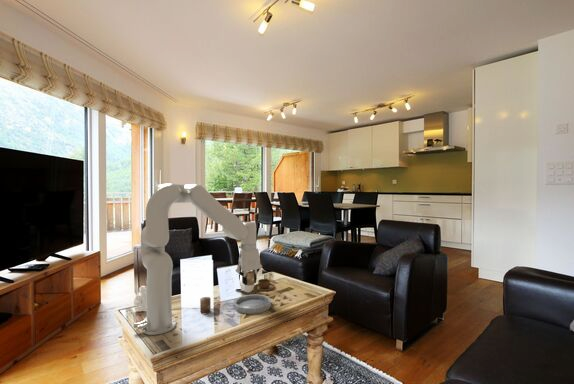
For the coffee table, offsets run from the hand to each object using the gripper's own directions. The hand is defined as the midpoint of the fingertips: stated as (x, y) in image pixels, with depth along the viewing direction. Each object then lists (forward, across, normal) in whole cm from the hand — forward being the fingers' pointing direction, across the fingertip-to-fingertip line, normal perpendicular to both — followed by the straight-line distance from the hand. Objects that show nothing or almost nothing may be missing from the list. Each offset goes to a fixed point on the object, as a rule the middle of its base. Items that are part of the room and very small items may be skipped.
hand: (249, 282), depth 145 cm
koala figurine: (+10, -45, +22) cm, 52 cm away
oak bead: (+1, 0, 0) cm, 1 cm away
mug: (+11, +8, +20) cm, 24 cm away
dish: (+10, 0, -4) cm, 11 cm away
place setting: (+11, +14, +15) cm, 23 cm away
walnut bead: (+10, -21, +4) cm, 24 cm away
